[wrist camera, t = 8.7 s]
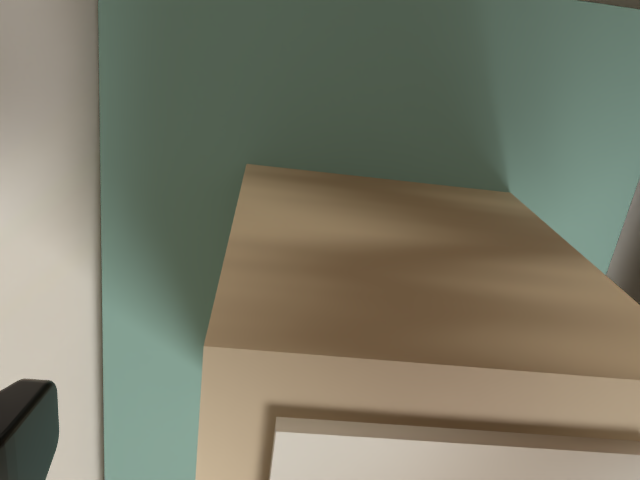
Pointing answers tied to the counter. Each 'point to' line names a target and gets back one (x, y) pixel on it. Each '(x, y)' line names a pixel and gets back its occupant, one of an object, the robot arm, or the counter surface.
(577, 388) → the labelled block
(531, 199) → the green mat
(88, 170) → the counter surface
